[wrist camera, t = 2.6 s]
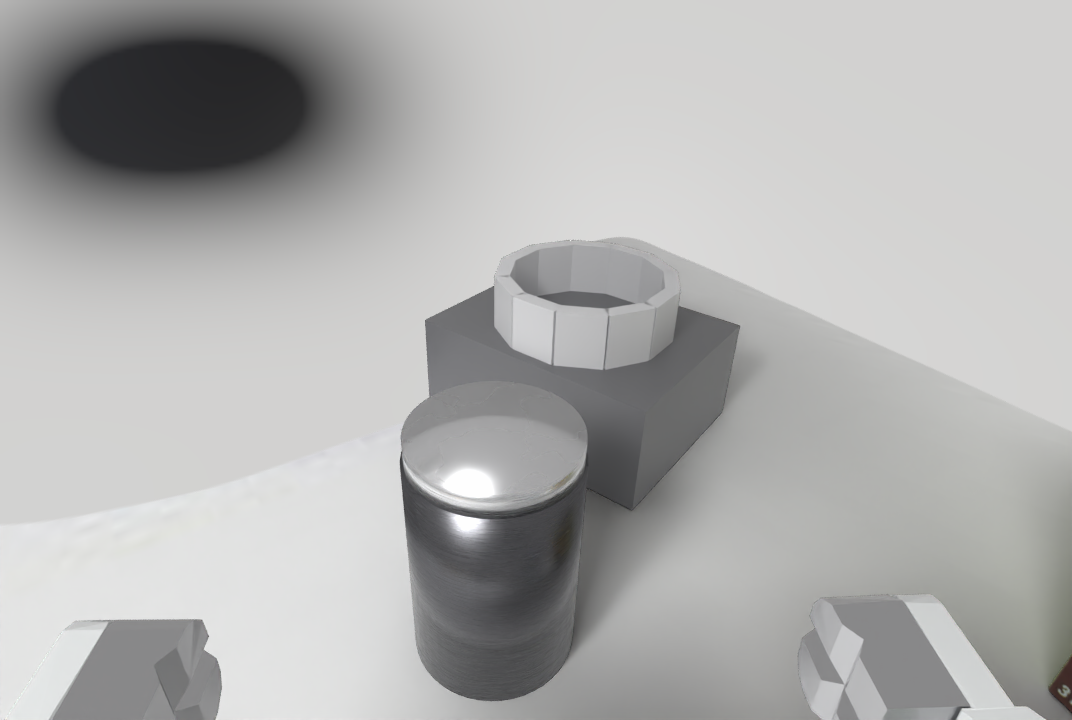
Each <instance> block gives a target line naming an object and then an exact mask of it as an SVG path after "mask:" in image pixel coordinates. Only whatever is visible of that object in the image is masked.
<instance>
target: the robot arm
mask: <svg viewBox="0 0 1072 720" xmlns="http://www.w3.org/2000/svg"><path fill="white" fill-rule="evenodd" d="M810 618H811V620H812V622H813V625H814V627H815V628H814V629H813V630H812V631H811V632H809V633H808V634H807V635H805V636H804V637H803V638H802V641H801V645H800V648H799V652H798V667H799V677H800V681H801V685H802V689H803V692H804V695H805V697H806V700H807V702H808V704H809V707H810V709H811V711H813V712H814V713H815V714H816V715H817V716H818V717H820V718H821V719H822V720H1046V719H1045V718H1043V717H1042V716H1040V715H1039V714H1037V713H1036V712H1035V711H1033V710H1032V709H1030V708H1029V707H1027V706H1015V705H1014V704H1013V703H1012V701H1011V700H1010V698H1009V697H1008V695H1007V694H1006V693H1005V691H1004V690H1003V688H1002V687H1001V686H1000V684H999V683H998V681H997V680H996V679H995V677H994V676H993V674H992V673H991V671H990V670H989V669H988V667H987V666H986V664H985V663H984V662H983V660H982V659H981V657H980V656H979V655H978V653H977V652H976V650H975V649H974V648H973V646H972V645H971V643H970V642H969V640H968V639H967V638H966V636H965V635H964V633H963V632H962V631H961V629H960V628H959V626H958V625H957V624H956V622H955V621H954V619H953V618H952V617H951V615H950V614H949V612H948V611H947V609H946V608H945V607H944V605H943V604H942V603H941V601H940V600H938V599H937V598H936V597H934V596H933V595H931V594H916V595H893V596H890V595H869V596H848V597H827V598H820V599H819V600H818V601H816V602H815V603H814V605H813V608H812V611H811V613H810ZM208 637H209V635H208V633H207V630H206V628H205V625H204V623H203V621H202V620H93V621H75V622H73V623H72V624H71V625H70V626H68V627H67V628H66V629H65V630H63V631H62V632H61V633H60V635H59V636H58V638H57V639H56V641H55V643H54V644H53V646H52V647H51V649H50V650H49V652H48V653H47V655H46V656H45V658H44V659H43V661H42V663H41V664H40V666H39V667H38V669H37V670H36V672H35V673H34V675H33V676H32V678H31V679H30V681H29V683H28V684H27V686H26V687H25V689H24V690H23V692H22V693H21V695H20V696H19V698H18V699H17V701H16V702H15V704H14V706H13V707H12V709H11V710H10V712H9V713H8V715H7V716H6V718H5V719H4V720H215V719H216V716H217V713H218V709H219V702H220V696H221V690H222V683H221V671H220V668H219V664H218V661H217V659H216V658H215V657H213V656H212V655H211V654H209V653H208V652H206V651H205V650H204V647H205V645H206V642H207V640H208Z"/></svg>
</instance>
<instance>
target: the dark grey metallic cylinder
mask: <svg viewBox="0 0 1072 720" xmlns="http://www.w3.org/2000/svg"><path fill="white" fill-rule="evenodd" d="M587 441H588V435H587V429H586V425H585V423H584V421H583V419H582V417H581V416H580V414H579V413H578V412H577V411H576V409H575V408H574V407H573V406H571V405H570V404H569V403H568V402H567V401H565V400H564V399H562V398H560V397H559V396H557V395H555V394H553V393H551V392H549V391H546V390H544V389H541V388H538V387H534V386H531V385H526V384H521V383H515V382H504V381H486V382H475V383H469V384H464V385H460V386H456V387H452V388H449V389H446V390H444V391H442V392H439V393H437V394H435V395H433V396H431V397H429V398H428V399H427V400H425V401H423V402H422V403H420V404H419V405H418V406H417V407H416V408H415V409H414V410H413V411H412V412H411V414H410V415H409V416H408V418H407V419H406V421H405V423H404V425H403V428H402V432H401V447H402V452H401V457H400V470H401V481H402V492H403V503H404V514H405V525H406V536H407V547H408V558H409V569H410V580H411V591H412V602H413V613H414V624H415V635H416V645H417V649H418V653H419V656H420V658H421V661H422V663H423V664H424V666H425V668H426V669H427V671H428V672H429V673H430V674H431V676H432V677H433V678H434V679H435V680H436V681H438V682H439V683H440V684H441V685H442V686H444V687H445V688H447V689H448V690H450V691H452V692H454V693H456V694H458V695H461V696H464V697H467V698H471V699H476V700H483V701H502V700H508V699H514V698H517V697H520V696H524V695H526V694H528V693H530V692H533V691H535V690H536V689H538V688H540V687H541V686H543V685H544V684H545V683H547V682H548V681H549V680H550V679H552V678H553V676H554V675H555V674H556V673H557V672H558V671H559V670H560V668H561V667H562V665H563V664H564V662H565V660H566V658H567V656H568V654H569V651H570V648H571V644H572V638H573V628H574V617H575V606H576V595H577V584H578V573H579V562H580V551H581V540H582V529H583V518H584V508H585V497H586V486H587V475H588V453H587Z"/></svg>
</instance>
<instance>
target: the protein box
mask: <svg viewBox="0 0 1072 720" xmlns="http://www.w3.org/2000/svg"><path fill="white" fill-rule="evenodd" d="M1049 691H1050V692H1051V693H1052V694H1053V695H1054V696H1055V697H1056V698H1057V699H1058V700H1059V701H1060V702H1061V703H1062V704H1064V705H1065V706H1066V707H1067V708H1068V709H1069V710H1070V711H1071V713H1072V654H1071V655H1070V657H1069V659H1068V660H1067V661H1066V663H1065V664H1064V666H1063V667H1062V668H1061V670H1060V671H1059V673H1058V674H1057V676H1056V677H1055V678H1054V680H1053V682H1052V683H1051V685H1050V686H1049Z"/></svg>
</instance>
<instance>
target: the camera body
mask: <svg viewBox="0 0 1072 720" xmlns="http://www.w3.org/2000/svg"><path fill="white" fill-rule="evenodd" d="M680 292H681V289H680V282H679V275H678V272H677V270H675V269H674V268H673V267H671V266H670V265H668V264H667V263H665V262H664V261H662V260H661V259H659V258H658V257H656V256H655V255H653V254H651V253H647V252H644V251H640V250H637V249H633V248H630V247H626V246H623V245H619V244H616V243H614V244H613V243H606V242H593V241H579V240H571V241H570V240H566V241H558V242H550V243H542V244H534V245H529V246H527V247H525V248H523V249H520V250H518V251H516V252H514V253H512V254H509V255H507V256H505V257H503V258H502V259H501V261H500V264H499V266H498V268H497V271H496V273H495V276H494V286H493V287H491V288H489V289H487V290H485V291H483V292H481V293H479V294H477V295H475V296H473V297H471V298H469V299H467V300H465V301H463V302H461V303H459V304H457V305H455V306H453V307H451V308H449V309H447V310H445V311H442V312H441V313H438V314H436V315H434V316H432V317H430V318H428V319H426V320H425V326H426V342H427V343H426V344H427V361H428V379H429V395H430V397H431V396H433V395H435V394H437V393H439V392H442V391H444V390H446V389H449V388H452V387H456V386H460V385H464V384H469V383H475V382H486V381H504V382H515V383H521V384H526V385H531V386H534V387H538V388H541V389H544V390H546V391H549V392H551V393H553V394H555V395H557V396H559V397H560V398H562V399H564V400H565V401H567V402H568V403H569V404H570V405H571V406H573V407H574V408H575V409H576V411H577V412H578V413H579V414H580V416H581V417H582V419H583V421H584V423H585V425H586V429H587V435H588V441H587V453H588V475H587V486H586V487H587V488H589V489H591V490H593V491H595V492H597V493H599V494H601V495H603V496H605V497H606V498H608V499H610V500H612V501H614V502H616V503H618V504H620V505H622V506H624V507H626V508H628V509H630V510H633V509H634V508H635V507H636V506H637V505H638V504H639V502H640V501H641V500H642V499H643V498H644V497H645V496H646V495H647V494H648V493H649V492H650V490H651V489H652V488H653V487H654V486H655V485H656V484H657V483H658V482H659V481H660V479H661V478H662V477H663V476H664V475H665V474H666V473H667V472H668V471H669V470H670V469H671V467H672V466H673V465H674V464H675V463H676V462H677V461H678V460H679V459H680V458H681V457H682V455H683V454H684V453H685V452H686V451H687V450H688V449H689V448H690V447H691V446H692V444H693V443H694V442H695V441H696V440H697V439H698V438H699V437H700V436H701V435H702V434H703V432H704V431H705V430H706V429H707V428H708V427H709V426H710V425H711V424H712V423H713V421H714V420H715V419H716V418H717V417H718V416H719V415H720V414H721V413H722V410H723V405H724V400H725V396H726V391H727V386H728V381H729V376H730V372H731V367H732V362H733V357H734V353H735V348H736V343H737V338H738V334H739V329H740V325H737V324H733V323H730V322H727V321H724V320H721V319H718V318H715V317H712V316H708V315H705V314H702V313H699V312H696V311H693V310H690V309H686V308H683V307H680V306H678V305H679V299H680Z"/></svg>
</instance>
